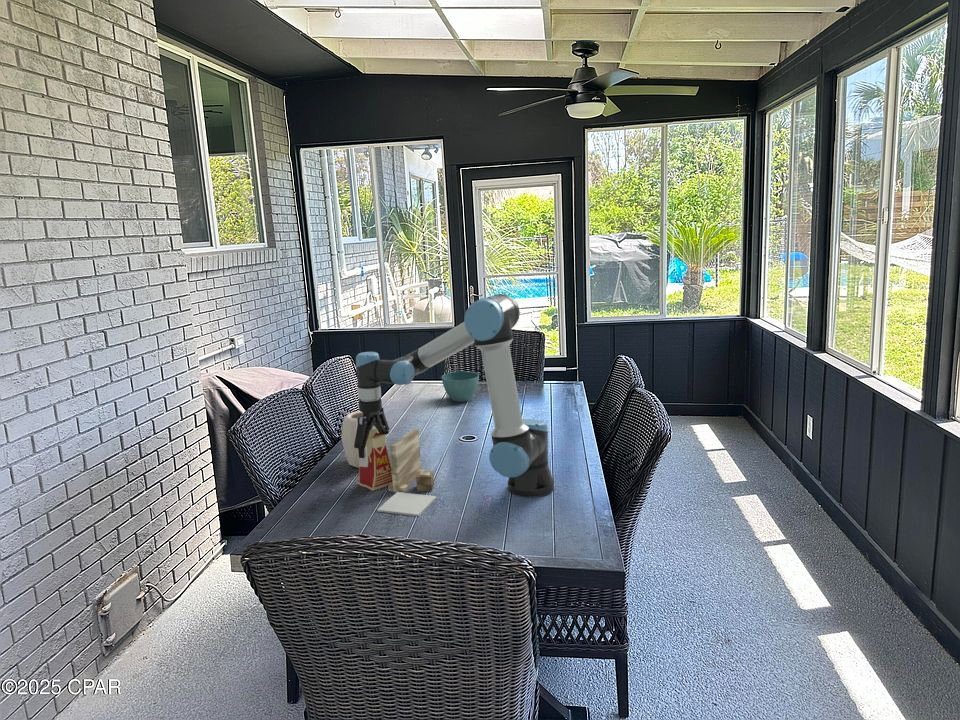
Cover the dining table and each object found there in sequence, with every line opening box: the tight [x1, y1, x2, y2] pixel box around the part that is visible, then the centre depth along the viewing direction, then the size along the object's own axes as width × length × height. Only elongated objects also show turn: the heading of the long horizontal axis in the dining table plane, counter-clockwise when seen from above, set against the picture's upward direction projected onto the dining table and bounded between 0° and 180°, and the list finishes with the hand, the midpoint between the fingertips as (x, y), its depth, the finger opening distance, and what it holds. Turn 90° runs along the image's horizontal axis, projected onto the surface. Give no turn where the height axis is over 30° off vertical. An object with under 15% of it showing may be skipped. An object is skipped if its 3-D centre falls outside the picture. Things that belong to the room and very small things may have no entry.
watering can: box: [340, 410, 379, 469], centre depth 247 cm, size 16×27×19 cm, turn 1°
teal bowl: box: [441, 371, 480, 403], centre depth 330 cm, size 18×18×12 cm
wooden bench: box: [387, 428, 427, 493], centre depth 227 cm, size 6×18×16 cm, turn 161°
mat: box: [376, 492, 438, 517], centre depth 210 cm, size 14×14×1 cm
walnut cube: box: [415, 470, 435, 492], centre depth 223 cm, size 5×5×5 cm
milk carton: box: [358, 429, 393, 491], centre depth 226 cm, size 9×9×20 cm
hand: (373, 459), depth 226 cm, fingers open, 13 cm apart
